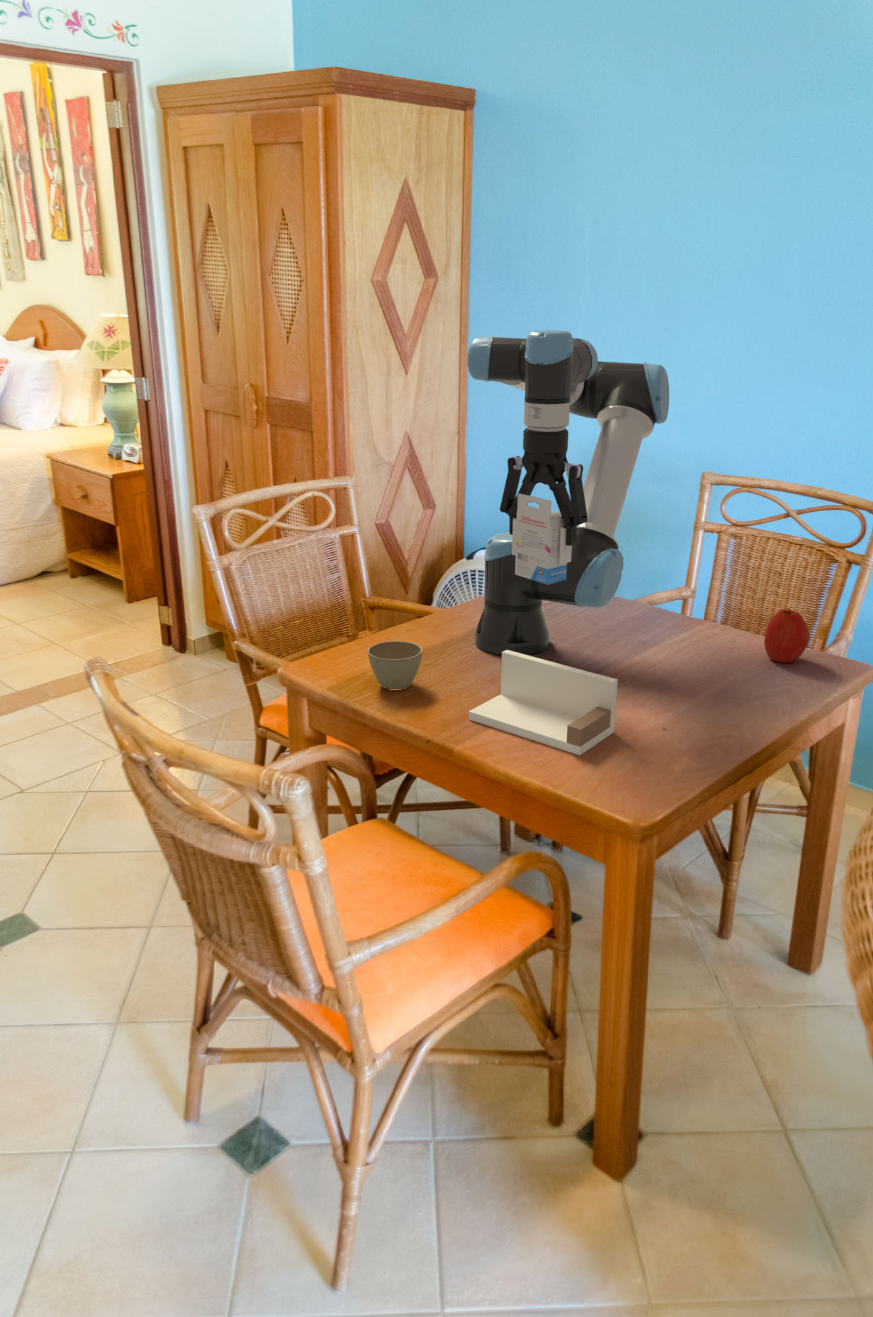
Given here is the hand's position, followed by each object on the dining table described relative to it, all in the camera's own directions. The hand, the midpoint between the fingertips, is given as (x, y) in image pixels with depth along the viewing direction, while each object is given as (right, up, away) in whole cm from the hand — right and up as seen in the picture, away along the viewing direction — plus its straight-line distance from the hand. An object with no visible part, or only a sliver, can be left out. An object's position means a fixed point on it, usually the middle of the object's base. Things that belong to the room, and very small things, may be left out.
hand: (541, 558), depth 178 cm
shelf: (-1, -29, -6) cm, 30 cm away
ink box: (0, -3, +1) cm, 4 cm away
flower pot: (-26, -23, +10) cm, 36 cm away
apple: (+50, -18, +23) cm, 58 cm away
